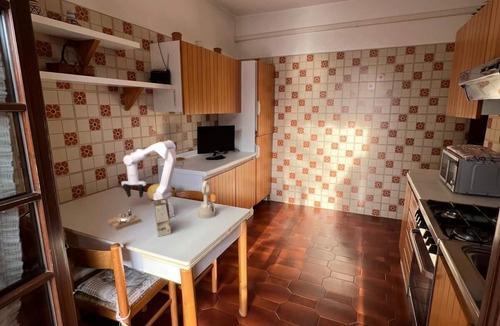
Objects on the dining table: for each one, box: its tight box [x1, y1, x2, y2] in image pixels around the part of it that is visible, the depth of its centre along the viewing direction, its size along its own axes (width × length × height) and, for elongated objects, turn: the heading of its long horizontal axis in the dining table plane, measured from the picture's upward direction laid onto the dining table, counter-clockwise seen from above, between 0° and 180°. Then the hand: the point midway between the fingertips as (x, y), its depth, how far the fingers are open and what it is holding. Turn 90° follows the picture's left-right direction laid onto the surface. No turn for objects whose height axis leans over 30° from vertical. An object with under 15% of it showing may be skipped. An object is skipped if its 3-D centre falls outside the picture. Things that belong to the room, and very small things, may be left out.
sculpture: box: [146, 183, 160, 201], centre depth 182 cm, size 12×12×11 cm
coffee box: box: [153, 199, 172, 237], centre depth 133 cm, size 9×6×16 cm
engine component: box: [197, 180, 216, 220], centre depth 153 cm, size 11×20×10 cm
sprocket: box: [113, 208, 135, 224], centre depth 145 cm, size 11×11×5 cm
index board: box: [106, 215, 142, 231], centre depth 146 cm, size 13×13×4 cm
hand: (135, 196), depth 158 cm, fingers open, 7 cm apart
